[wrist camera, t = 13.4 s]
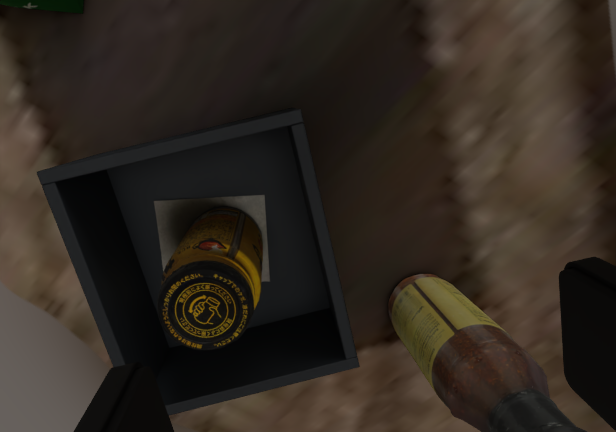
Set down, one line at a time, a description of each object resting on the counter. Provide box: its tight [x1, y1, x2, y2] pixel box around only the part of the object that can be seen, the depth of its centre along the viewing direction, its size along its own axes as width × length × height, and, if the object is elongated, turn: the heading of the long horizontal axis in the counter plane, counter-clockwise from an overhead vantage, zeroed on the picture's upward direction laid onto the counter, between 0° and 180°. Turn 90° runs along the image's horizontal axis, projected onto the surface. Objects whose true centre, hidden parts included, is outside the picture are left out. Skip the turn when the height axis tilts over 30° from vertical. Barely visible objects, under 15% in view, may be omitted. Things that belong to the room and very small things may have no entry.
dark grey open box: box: [37, 108, 359, 416], centre depth 32 cm, size 18×16×9 cm
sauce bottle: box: [388, 274, 587, 432], centre depth 30 cm, size 7×6×20 cm
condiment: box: [154, 195, 270, 350], centre depth 30 cm, size 7×8×12 cm
